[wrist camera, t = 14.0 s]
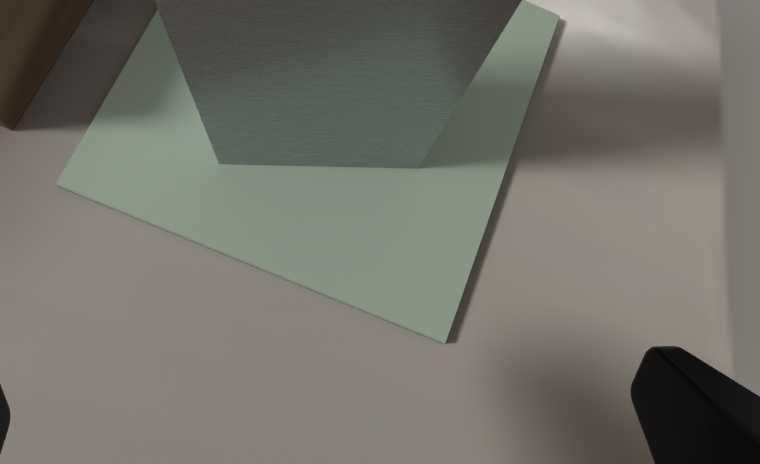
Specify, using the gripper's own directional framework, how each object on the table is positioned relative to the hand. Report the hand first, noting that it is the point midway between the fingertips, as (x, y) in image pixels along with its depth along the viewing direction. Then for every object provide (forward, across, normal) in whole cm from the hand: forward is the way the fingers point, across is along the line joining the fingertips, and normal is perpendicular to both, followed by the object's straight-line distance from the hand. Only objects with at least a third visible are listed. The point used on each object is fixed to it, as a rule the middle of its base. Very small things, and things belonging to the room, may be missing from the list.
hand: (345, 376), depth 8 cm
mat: (+12, 0, 0) cm, 12 cm away
